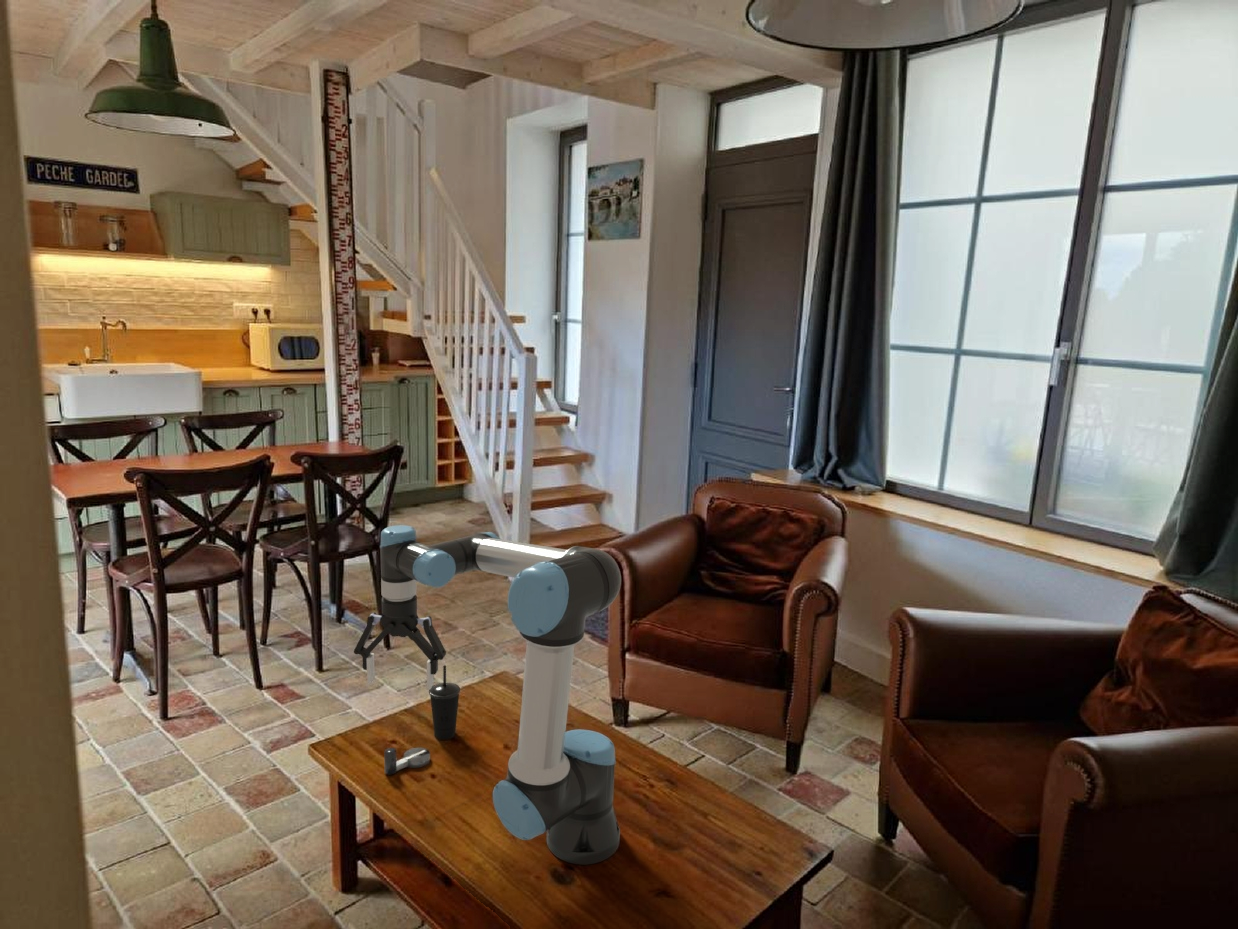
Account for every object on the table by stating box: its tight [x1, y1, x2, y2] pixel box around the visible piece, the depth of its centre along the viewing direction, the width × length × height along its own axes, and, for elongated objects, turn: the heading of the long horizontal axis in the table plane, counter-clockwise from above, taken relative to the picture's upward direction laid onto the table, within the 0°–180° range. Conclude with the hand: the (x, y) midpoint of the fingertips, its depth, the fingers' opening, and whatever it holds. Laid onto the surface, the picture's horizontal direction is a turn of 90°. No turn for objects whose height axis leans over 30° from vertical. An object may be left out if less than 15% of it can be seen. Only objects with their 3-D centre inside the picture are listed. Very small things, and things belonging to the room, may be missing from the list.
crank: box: [383, 747, 431, 776], centre depth 184 cm, size 11×6×6 cm, turn 138°
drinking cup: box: [428, 664, 461, 741], centre depth 197 cm, size 8×8×20 cm
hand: (400, 684), depth 178 cm, fingers open, 13 cm apart
